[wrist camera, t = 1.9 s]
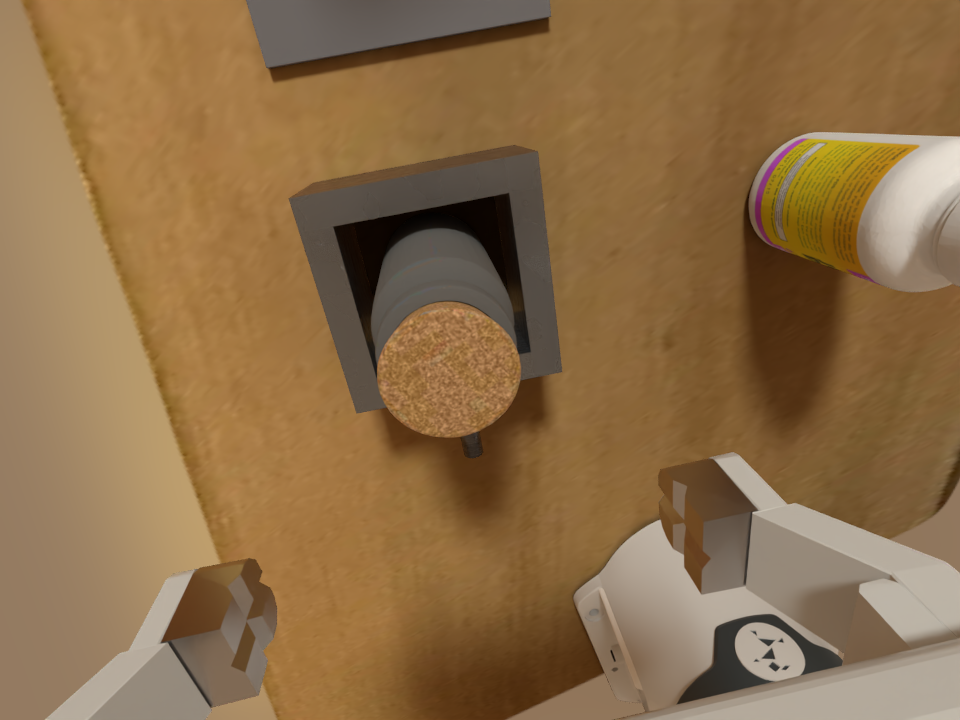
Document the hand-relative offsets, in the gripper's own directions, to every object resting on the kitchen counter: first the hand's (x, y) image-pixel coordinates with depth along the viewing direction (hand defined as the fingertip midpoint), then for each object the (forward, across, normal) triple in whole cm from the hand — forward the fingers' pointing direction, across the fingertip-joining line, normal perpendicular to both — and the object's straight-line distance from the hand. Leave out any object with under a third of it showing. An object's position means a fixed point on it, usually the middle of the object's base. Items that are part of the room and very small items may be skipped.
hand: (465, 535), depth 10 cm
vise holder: (+22, 0, +3) cm, 22 cm away
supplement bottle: (+22, -22, 0) cm, 31 cm away
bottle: (+22, 0, 0) cm, 22 cm away
